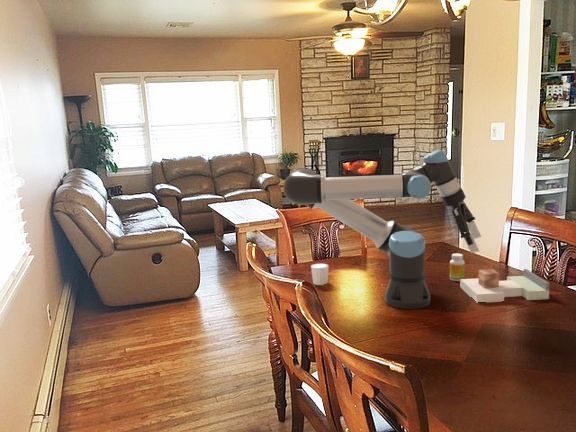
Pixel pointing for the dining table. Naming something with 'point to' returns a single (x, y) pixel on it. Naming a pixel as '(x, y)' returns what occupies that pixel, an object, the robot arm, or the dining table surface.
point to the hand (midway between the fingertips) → (476, 244)
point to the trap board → (508, 288)
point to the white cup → (320, 273)
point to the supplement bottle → (457, 267)
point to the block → (488, 278)
